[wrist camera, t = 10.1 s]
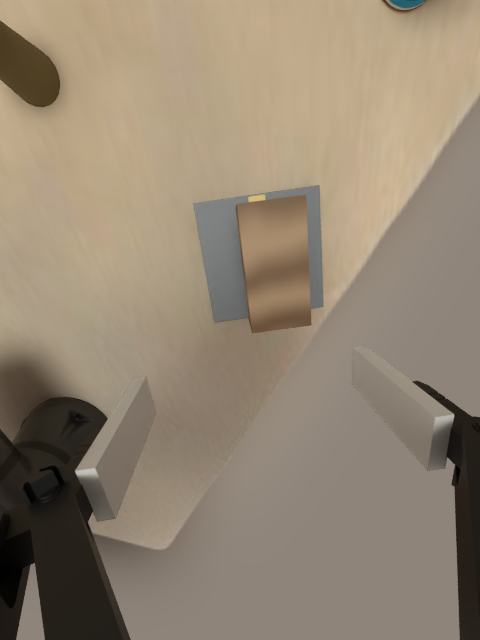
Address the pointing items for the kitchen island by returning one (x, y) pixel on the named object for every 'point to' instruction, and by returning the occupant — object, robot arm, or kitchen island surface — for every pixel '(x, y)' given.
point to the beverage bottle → (405, 4)
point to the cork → (27, 69)
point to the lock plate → (225, 251)
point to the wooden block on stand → (275, 262)
